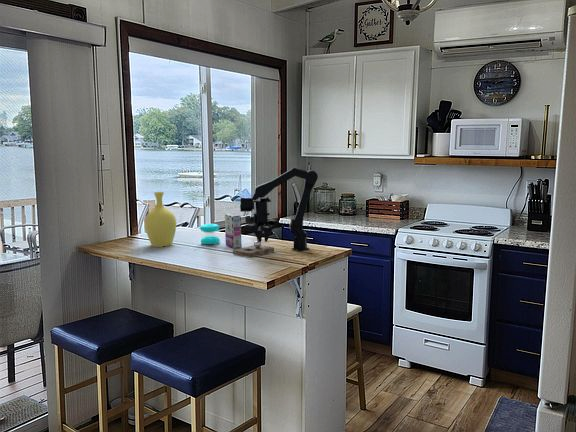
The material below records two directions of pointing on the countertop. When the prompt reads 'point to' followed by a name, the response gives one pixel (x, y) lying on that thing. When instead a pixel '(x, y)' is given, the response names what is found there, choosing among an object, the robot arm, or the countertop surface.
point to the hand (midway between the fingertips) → (262, 242)
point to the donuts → (210, 238)
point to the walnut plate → (253, 251)
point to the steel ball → (257, 244)
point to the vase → (160, 224)
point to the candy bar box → (233, 230)
